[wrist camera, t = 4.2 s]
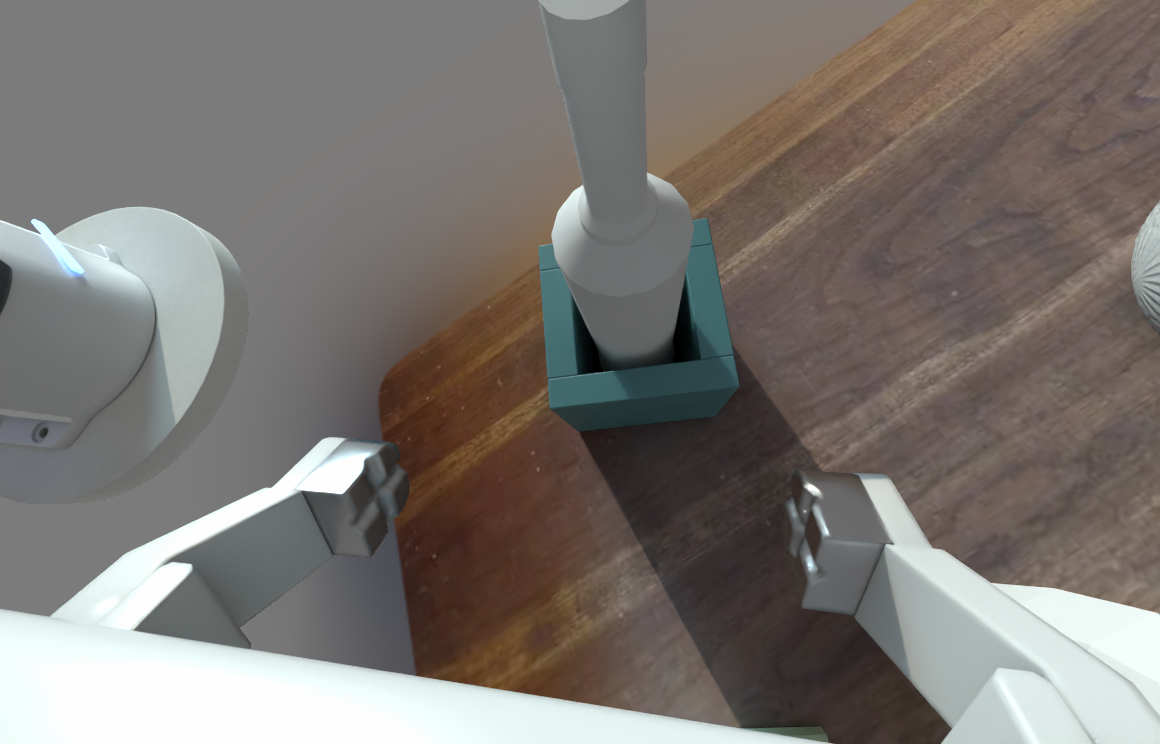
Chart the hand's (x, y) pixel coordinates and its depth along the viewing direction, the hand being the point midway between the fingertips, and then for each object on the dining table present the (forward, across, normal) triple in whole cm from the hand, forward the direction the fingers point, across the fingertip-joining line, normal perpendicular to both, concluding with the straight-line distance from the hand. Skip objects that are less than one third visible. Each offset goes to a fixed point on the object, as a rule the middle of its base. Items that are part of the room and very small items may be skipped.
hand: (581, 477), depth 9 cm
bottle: (+22, 0, +9) cm, 24 cm away
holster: (+22, 0, +9) cm, 23 cm away
